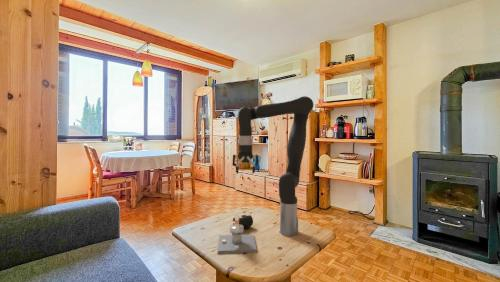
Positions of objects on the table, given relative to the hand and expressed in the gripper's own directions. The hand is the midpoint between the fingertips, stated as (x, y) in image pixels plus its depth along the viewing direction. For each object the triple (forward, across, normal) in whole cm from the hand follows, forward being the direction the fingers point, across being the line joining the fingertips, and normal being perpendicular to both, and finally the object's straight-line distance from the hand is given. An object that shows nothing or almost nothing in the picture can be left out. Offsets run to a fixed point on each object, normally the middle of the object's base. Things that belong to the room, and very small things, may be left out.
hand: (245, 173), depth 124 cm
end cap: (+33, +1, -6) cm, 34 cm away
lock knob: (+27, +5, +13) cm, 30 cm away
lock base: (+33, +5, +13) cm, 36 cm away
